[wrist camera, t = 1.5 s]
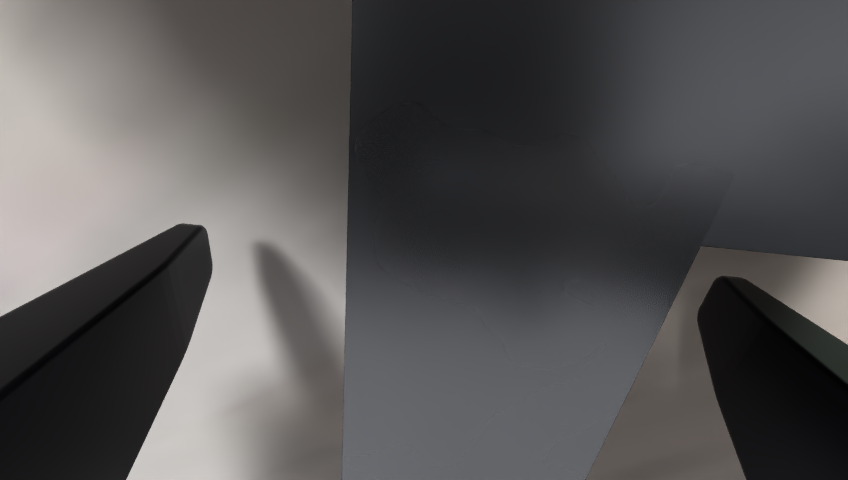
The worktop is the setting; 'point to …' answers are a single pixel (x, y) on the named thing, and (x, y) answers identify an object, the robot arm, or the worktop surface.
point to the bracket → (562, 207)
